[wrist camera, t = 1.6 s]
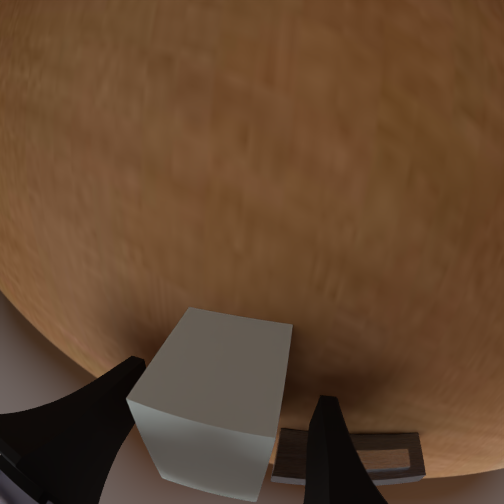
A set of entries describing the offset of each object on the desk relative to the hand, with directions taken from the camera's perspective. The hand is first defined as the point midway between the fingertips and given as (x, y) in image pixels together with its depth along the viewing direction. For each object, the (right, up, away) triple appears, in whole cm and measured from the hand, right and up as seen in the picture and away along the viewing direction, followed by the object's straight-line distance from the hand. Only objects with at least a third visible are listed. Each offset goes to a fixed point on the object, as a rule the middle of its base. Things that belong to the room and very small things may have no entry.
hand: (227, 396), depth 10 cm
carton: (0, +1, +1) cm, 2 cm away
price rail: (+6, -4, +2) cm, 8 cm away
